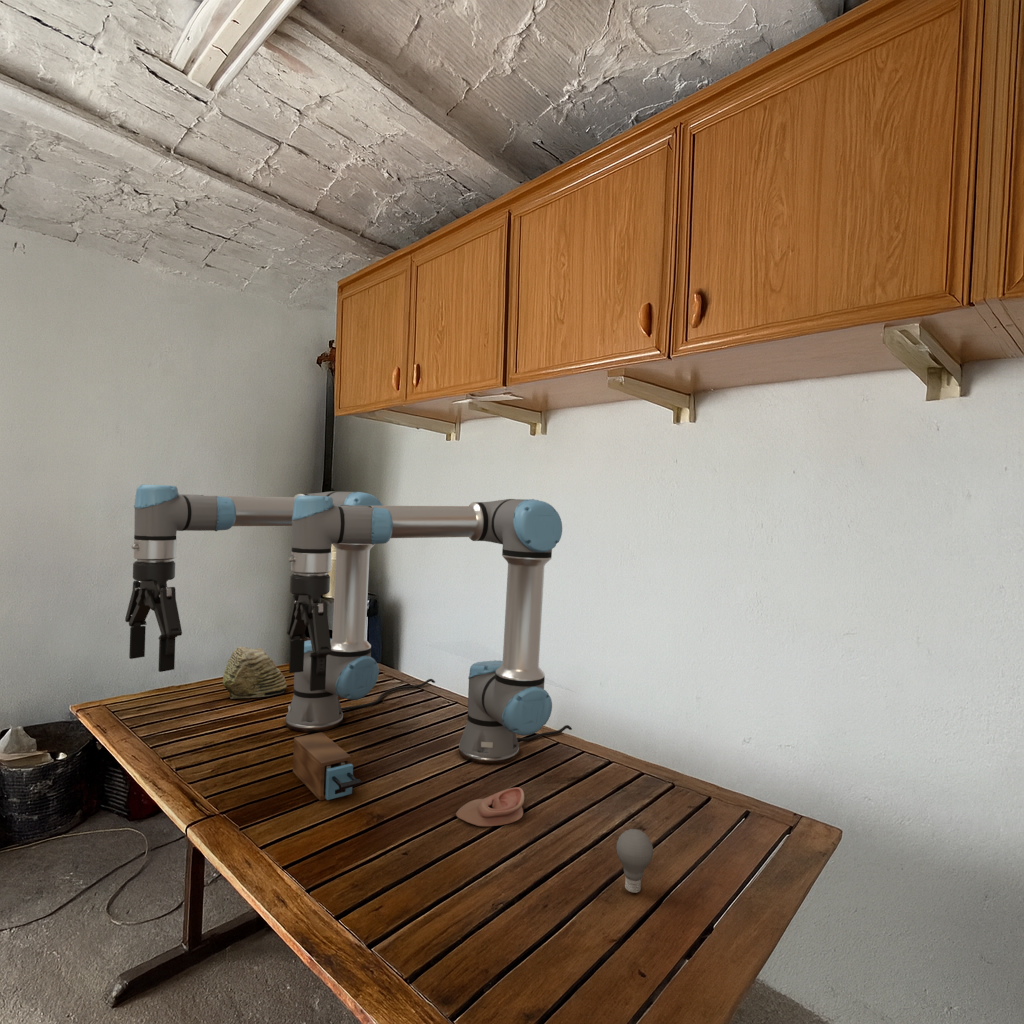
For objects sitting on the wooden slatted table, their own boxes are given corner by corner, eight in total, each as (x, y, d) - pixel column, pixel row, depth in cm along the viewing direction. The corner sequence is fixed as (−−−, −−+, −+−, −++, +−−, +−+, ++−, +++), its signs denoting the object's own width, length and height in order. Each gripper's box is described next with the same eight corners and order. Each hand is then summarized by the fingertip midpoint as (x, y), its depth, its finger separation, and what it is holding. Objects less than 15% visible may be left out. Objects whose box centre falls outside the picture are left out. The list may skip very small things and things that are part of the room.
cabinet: (349, 792, 136) (351, 756, 136) (319, 800, 132) (321, 763, 132) (320, 765, 149) (321, 732, 149) (292, 771, 145) (293, 737, 145)
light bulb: (610, 879, 108) (613, 822, 108) (644, 879, 109) (647, 822, 109) (619, 902, 102) (622, 840, 102) (655, 901, 103) (658, 840, 103)
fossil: (218, 695, 195) (220, 647, 195) (278, 685, 208) (279, 640, 207) (228, 703, 189) (230, 653, 188) (289, 692, 201) (290, 645, 201)
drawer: (362, 803, 130) (364, 774, 130) (337, 810, 126) (338, 780, 126) (324, 767, 146) (325, 741, 146) (300, 773, 143) (301, 746, 142)
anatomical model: (451, 802, 125) (467, 778, 136) (451, 822, 125) (466, 796, 136) (517, 812, 122) (528, 786, 134) (516, 832, 123) (527, 804, 134)
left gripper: (109, 555, 134) (106, 655, 134) (163, 567, 118) (159, 680, 119) (147, 554, 140) (144, 649, 140) (203, 565, 124) (199, 672, 125)
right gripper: (273, 566, 133) (270, 667, 133) (311, 582, 113) (306, 701, 113) (309, 566, 137) (305, 663, 138) (352, 581, 117) (347, 695, 117)
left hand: (151, 663), depth 129 cm, fingers open, 13 cm apart
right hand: (306, 680), depth 125 cm, fingers open, 13 cm apart
